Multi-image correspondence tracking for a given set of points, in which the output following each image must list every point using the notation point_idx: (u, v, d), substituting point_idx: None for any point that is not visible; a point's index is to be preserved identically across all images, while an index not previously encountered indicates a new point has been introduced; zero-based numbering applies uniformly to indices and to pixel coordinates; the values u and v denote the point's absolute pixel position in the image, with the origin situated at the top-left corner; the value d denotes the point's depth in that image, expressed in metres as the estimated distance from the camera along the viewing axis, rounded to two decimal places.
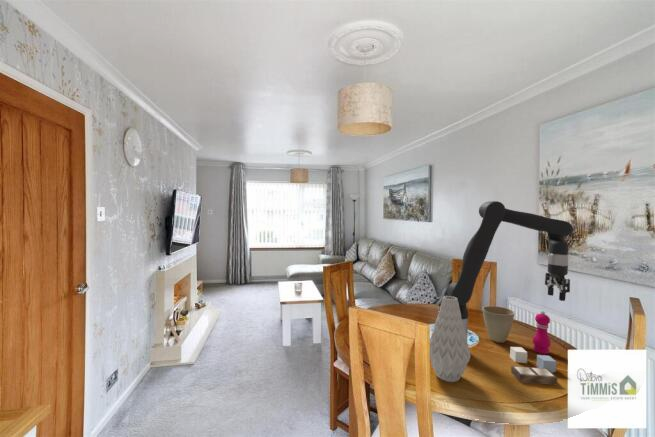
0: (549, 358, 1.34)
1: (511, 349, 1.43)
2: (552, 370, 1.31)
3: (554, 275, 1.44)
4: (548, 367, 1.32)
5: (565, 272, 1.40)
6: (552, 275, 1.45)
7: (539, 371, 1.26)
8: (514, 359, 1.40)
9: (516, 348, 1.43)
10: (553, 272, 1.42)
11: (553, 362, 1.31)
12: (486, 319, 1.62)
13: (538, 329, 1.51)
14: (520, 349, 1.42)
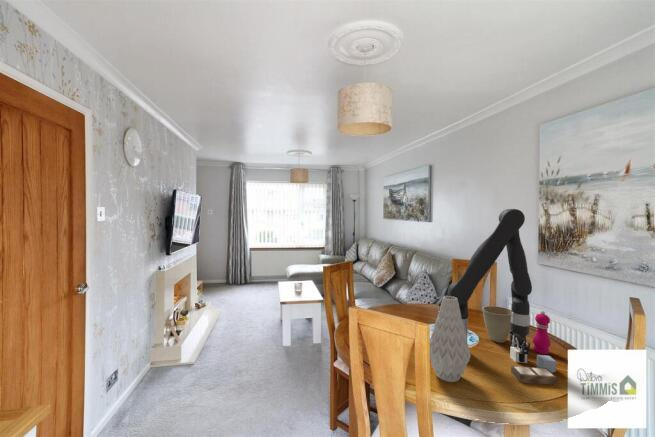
0: (549, 358, 1.34)
1: (511, 349, 1.43)
2: (552, 370, 1.31)
3: (516, 334, 1.42)
4: (548, 367, 1.32)
5: (526, 332, 1.38)
6: (515, 333, 1.43)
7: (539, 371, 1.26)
8: (514, 359, 1.40)
9: (516, 348, 1.43)
10: (515, 332, 1.40)
11: (553, 362, 1.31)
12: (486, 319, 1.62)
13: (538, 329, 1.51)
14: None
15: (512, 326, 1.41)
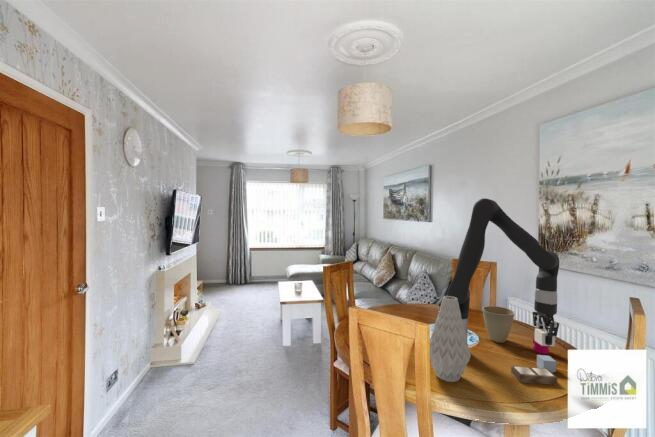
0: (549, 358, 1.34)
1: (536, 331, 1.27)
2: (552, 370, 1.31)
3: (542, 314, 1.25)
4: (548, 367, 1.32)
5: (554, 311, 1.22)
6: (539, 313, 1.27)
7: (539, 371, 1.26)
8: (540, 342, 1.24)
9: (542, 330, 1.26)
10: (540, 311, 1.23)
11: (553, 362, 1.31)
12: (486, 319, 1.62)
13: None
14: None
15: (537, 305, 1.24)
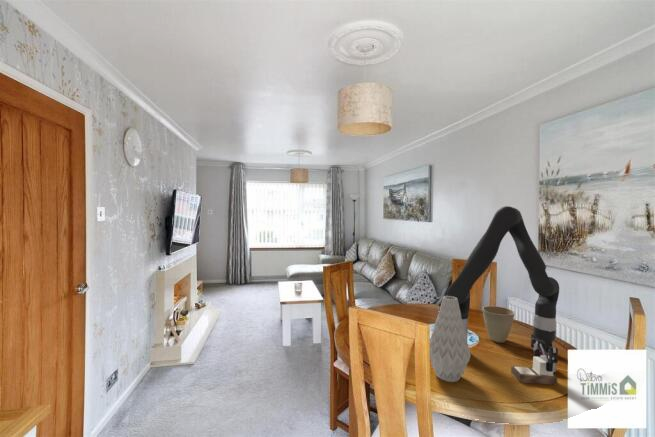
0: None
1: (534, 359, 1.27)
2: None
3: (540, 340, 1.26)
4: None
5: (553, 338, 1.22)
6: (538, 339, 1.27)
7: None
8: (538, 371, 1.24)
9: (540, 358, 1.27)
10: (539, 337, 1.23)
11: None
12: (486, 319, 1.62)
13: None
14: (545, 359, 1.26)
15: (536, 331, 1.25)
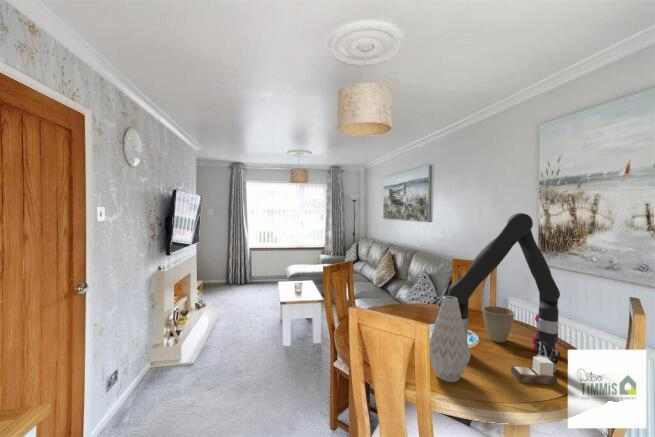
0: (549, 358, 1.34)
1: (534, 359, 1.27)
2: None
3: (544, 341, 1.34)
4: None
5: (555, 340, 1.30)
6: (542, 341, 1.35)
7: None
8: (538, 371, 1.24)
9: (540, 358, 1.27)
10: (542, 339, 1.32)
11: None
12: (486, 319, 1.62)
13: None
14: (545, 359, 1.26)
15: (539, 333, 1.33)
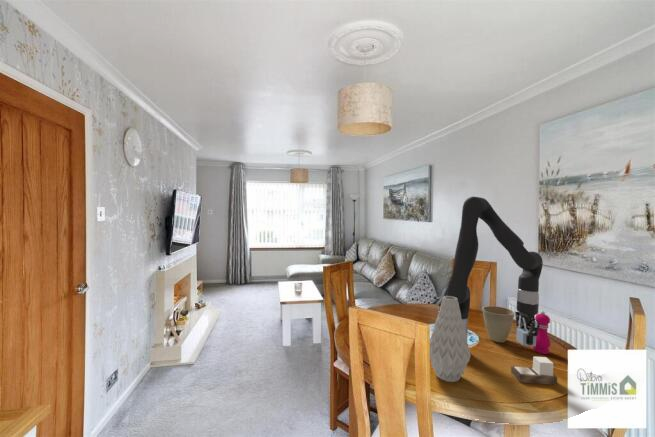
0: (529, 331, 1.26)
1: (534, 359, 1.27)
2: None
3: (523, 314, 1.26)
4: None
5: (535, 311, 1.22)
6: (521, 313, 1.28)
7: None
8: (538, 371, 1.24)
9: (540, 358, 1.27)
10: (522, 311, 1.24)
11: None
12: (486, 319, 1.62)
13: None
14: (545, 359, 1.26)
15: (519, 305, 1.25)
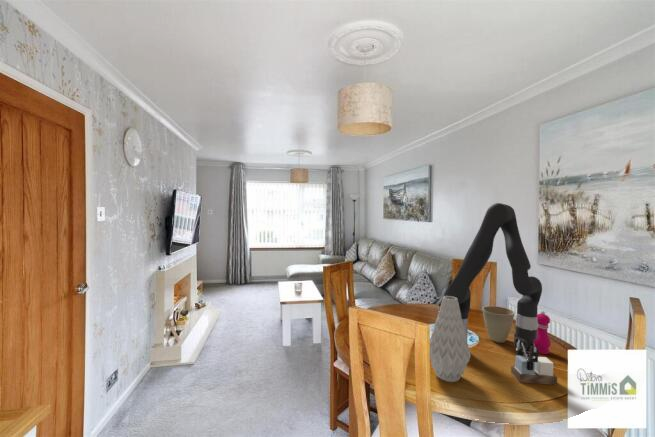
0: None
1: None
2: (531, 371, 1.24)
3: (522, 338, 1.26)
4: (526, 368, 1.24)
5: (534, 337, 1.22)
6: (520, 338, 1.28)
7: None
8: (538, 371, 1.24)
9: (540, 358, 1.27)
10: (520, 336, 1.24)
11: None
12: (486, 319, 1.62)
13: (538, 329, 1.51)
14: (545, 359, 1.26)
15: (518, 330, 1.25)
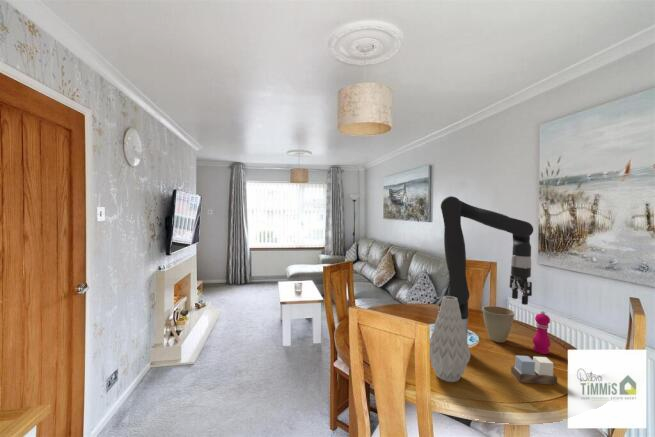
0: (528, 359, 1.26)
1: (534, 359, 1.27)
2: (531, 371, 1.24)
3: (517, 278, 1.38)
4: (526, 368, 1.24)
5: (528, 275, 1.34)
6: (516, 278, 1.40)
7: None
8: (538, 371, 1.24)
9: (540, 358, 1.27)
10: (516, 275, 1.36)
11: (532, 363, 1.24)
12: (486, 319, 1.62)
13: (538, 329, 1.51)
14: (545, 359, 1.26)
15: (513, 269, 1.37)
